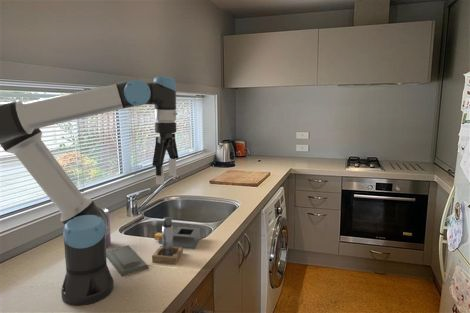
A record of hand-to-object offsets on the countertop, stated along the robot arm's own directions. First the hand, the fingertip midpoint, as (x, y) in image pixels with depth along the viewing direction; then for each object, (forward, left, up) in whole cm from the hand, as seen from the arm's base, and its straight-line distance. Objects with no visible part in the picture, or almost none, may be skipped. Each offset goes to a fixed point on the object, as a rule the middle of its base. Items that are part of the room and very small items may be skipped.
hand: (166, 179), depth 120 cm
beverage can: (+8, +31, -32) cm, 45 cm away
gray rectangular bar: (0, 0, -31) cm, 31 cm away
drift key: (+14, +7, -30) cm, 34 cm away
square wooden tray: (0, 0, -32) cm, 32 cm away
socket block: (+14, 0, -32) cm, 35 cm away
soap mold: (-3, +16, -32) cm, 36 cm away
